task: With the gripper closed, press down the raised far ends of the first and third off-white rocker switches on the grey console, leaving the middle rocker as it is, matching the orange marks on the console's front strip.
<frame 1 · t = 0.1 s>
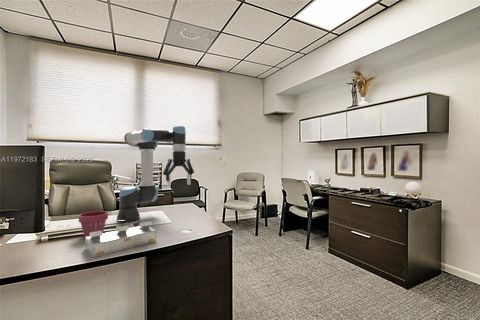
hand: (179, 185, 145), 28 cm above the table, tool pointing down, fingers open, 13 cm apart
keypad: (138, 230, 147), on the table
plant pot: (93, 235, 136), on the table
console: (122, 244, 121), on the table
rocker c: (145, 223, 130), point 9 cm above the table, hinge at -15.0°
rocker a: (95, 233, 113), point 9 cm above the table, hinge at -15.0°
rocker b: (122, 228, 121), point 9 cm above the table, hinge at -15.0°
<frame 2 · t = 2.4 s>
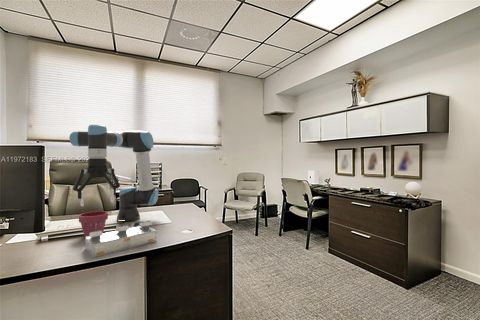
hand: (97, 204, 110), 23 cm above the table, tool pointing down, fingers open, 12 cm apart
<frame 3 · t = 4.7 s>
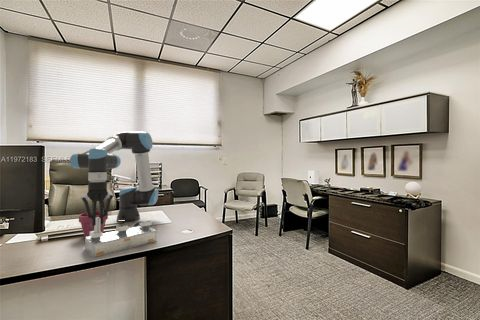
hand: (97, 231, 110), 11 cm above the table, tool pointing down, fingers closed, pressing on rocker a
rocker a: (95, 233, 113), point 9 cm above the table, hinge at -6.4°, touching gripper
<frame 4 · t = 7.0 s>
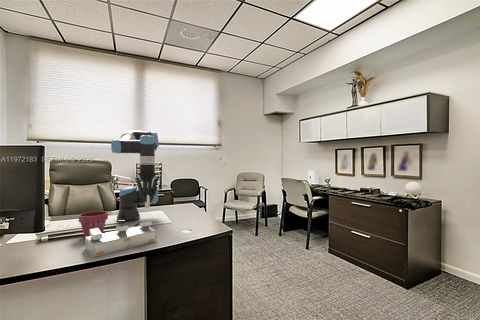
hand: (147, 207, 127), 18 cm above the table, tool pointing down, fingers closed
rocker a: (95, 233, 113), point 9 cm above the table, hinge at 9.9°
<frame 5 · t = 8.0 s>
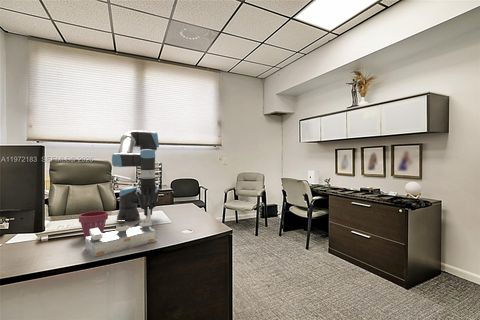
hand: (148, 221, 127), 11 cm above the table, tool pointing down, fingers closed
rocker c: (145, 223, 130), point 9 cm above the table, hinge at -13.8°, touching gripper
rocker a: (95, 233, 113), point 9 cm above the table, hinge at 10.8°
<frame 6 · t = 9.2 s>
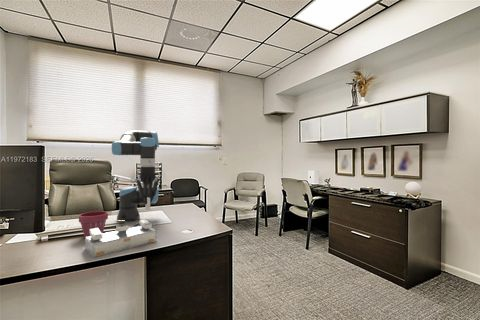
hand: (147, 209, 127), 17 cm above the table, tool pointing down, fingers closed
rocker c: (145, 223, 130), point 9 cm above the table, hinge at 6.9°
rocker a: (95, 233, 113), point 9 cm above the table, hinge at 11.2°
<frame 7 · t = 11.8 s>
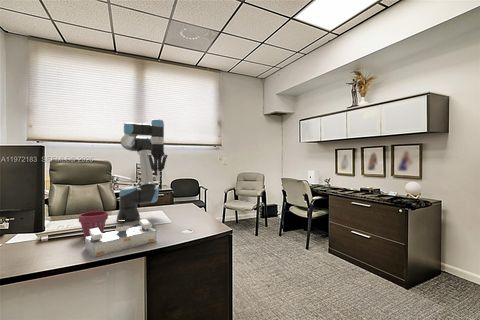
hand: (157, 180, 150), 30 cm above the table, tool pointing down, fingers closed
rocker c: (145, 223, 129), point 9 cm above the table, hinge at 12.4°
at the end: rocker a at +11° (first picture: -15°); rocker c at +12° (first picture: -15°); rocker b at -15° (first picture: -15°) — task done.
